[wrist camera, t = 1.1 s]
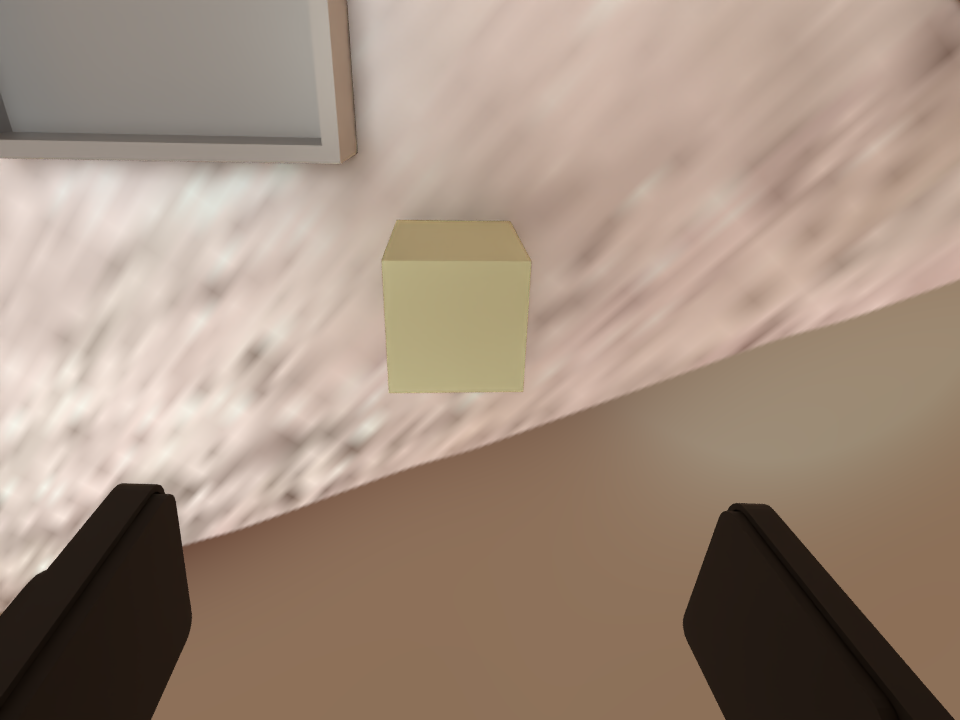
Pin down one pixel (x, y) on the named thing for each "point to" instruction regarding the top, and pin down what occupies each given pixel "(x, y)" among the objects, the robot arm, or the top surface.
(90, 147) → the tub
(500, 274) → the pale yellow block
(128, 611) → the robot arm
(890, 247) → the top surface
